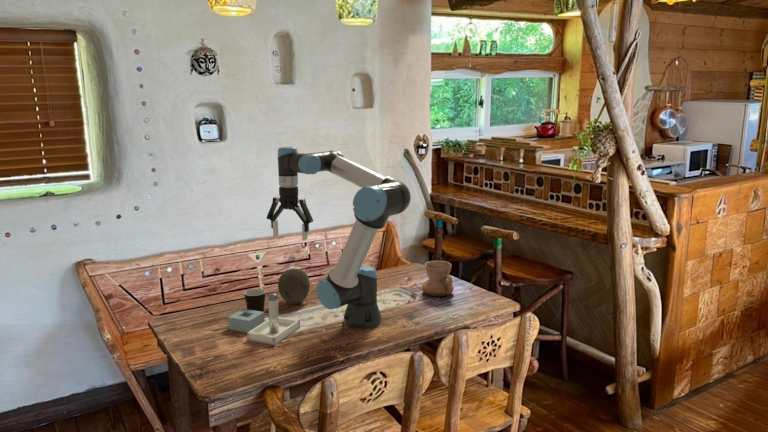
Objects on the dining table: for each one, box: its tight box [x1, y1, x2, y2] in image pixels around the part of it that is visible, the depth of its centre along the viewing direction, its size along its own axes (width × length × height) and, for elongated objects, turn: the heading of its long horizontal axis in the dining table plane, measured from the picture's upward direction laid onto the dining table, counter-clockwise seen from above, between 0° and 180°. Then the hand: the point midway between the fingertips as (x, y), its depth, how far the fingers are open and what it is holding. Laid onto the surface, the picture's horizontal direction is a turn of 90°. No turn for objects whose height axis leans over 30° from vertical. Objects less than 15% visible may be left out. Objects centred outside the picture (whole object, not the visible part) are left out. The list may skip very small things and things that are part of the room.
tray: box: [246, 316, 301, 346], centre depth 226 cm, size 12×18×3 cm, turn 157°
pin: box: [267, 292, 280, 334], centre depth 224 cm, size 4×4×15 cm
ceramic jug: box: [421, 260, 455, 297], centre depth 269 cm, size 18×14×14 cm
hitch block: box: [227, 308, 266, 333], centre depth 233 cm, size 10×10×5 cm
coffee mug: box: [243, 288, 267, 313], centre depth 245 cm, size 12×9×10 cm
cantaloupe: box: [277, 268, 311, 305], centre depth 259 cm, size 14×14×15 cm
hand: (290, 238), depth 239 cm, fingers open, 13 cm apart
